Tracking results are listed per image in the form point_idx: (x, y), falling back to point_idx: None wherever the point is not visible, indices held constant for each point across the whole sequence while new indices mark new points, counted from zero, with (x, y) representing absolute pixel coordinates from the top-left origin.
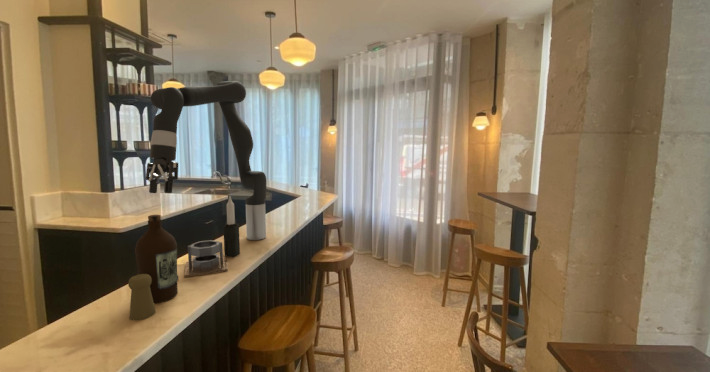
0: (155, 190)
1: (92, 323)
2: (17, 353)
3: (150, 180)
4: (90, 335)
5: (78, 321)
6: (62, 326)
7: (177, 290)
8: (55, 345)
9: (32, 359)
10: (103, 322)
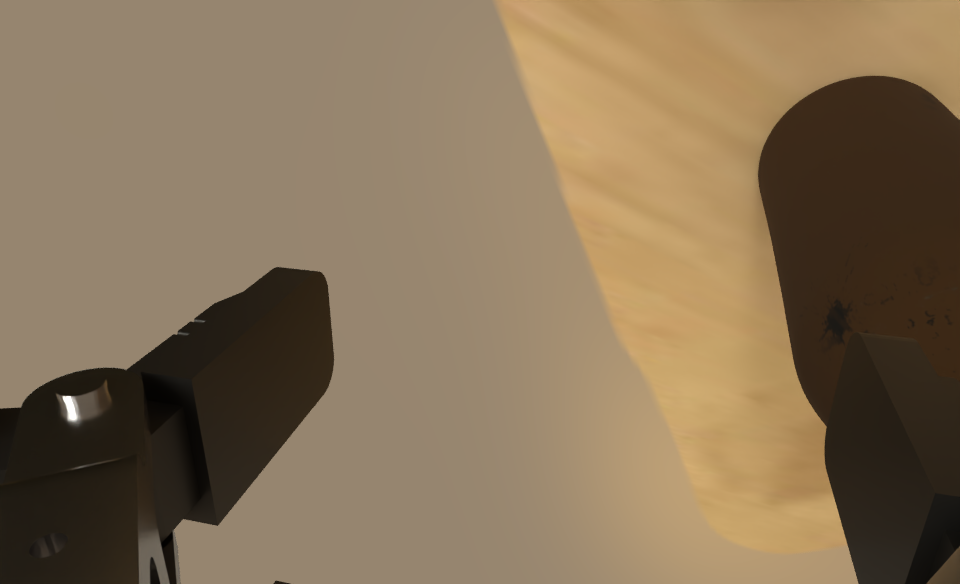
0: (302, 315)
1: (779, 399)
2: (741, 531)
3: (176, 557)
4: None
5: (710, 407)
6: (693, 437)
7: (938, 100)
8: (805, 491)
9: (819, 533)
10: None
